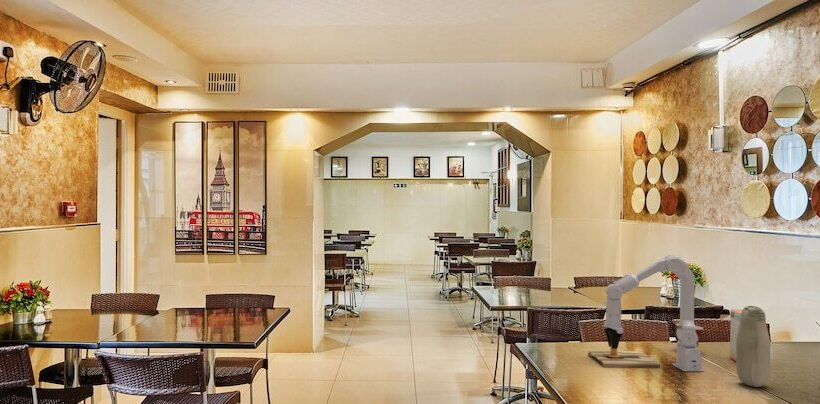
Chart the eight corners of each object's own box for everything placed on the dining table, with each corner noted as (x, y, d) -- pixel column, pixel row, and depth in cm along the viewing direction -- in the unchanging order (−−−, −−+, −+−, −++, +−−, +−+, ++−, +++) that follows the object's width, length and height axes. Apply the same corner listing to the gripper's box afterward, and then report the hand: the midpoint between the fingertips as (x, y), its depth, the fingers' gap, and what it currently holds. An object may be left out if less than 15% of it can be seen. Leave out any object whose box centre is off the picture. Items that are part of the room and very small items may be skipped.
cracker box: (759, 368, 219) (759, 315, 219) (742, 367, 220) (742, 314, 220) (745, 359, 232) (745, 309, 233) (729, 358, 234) (729, 308, 234)
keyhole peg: (622, 357, 223) (622, 335, 223) (611, 358, 222) (612, 335, 222) (615, 354, 228) (615, 332, 228) (605, 355, 227) (605, 333, 227)
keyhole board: (660, 368, 216) (660, 362, 216) (604, 367, 216) (604, 362, 216) (639, 356, 234) (639, 351, 234) (588, 355, 234) (588, 350, 234)
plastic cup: (708, 356, 236) (708, 328, 236) (682, 355, 236) (682, 327, 237) (695, 349, 247) (695, 322, 247) (671, 349, 247) (671, 322, 247)
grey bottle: (774, 391, 190) (775, 309, 190) (742, 388, 192) (742, 307, 192) (762, 382, 200) (763, 304, 200) (731, 380, 202) (732, 303, 202)
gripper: (597, 310, 232) (596, 343, 232) (610, 317, 218) (610, 351, 217) (614, 310, 232) (613, 343, 232) (628, 317, 218) (628, 352, 218)
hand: (613, 347), depth 225 cm, fingers closed on keyhole peg, 2 cm apart
